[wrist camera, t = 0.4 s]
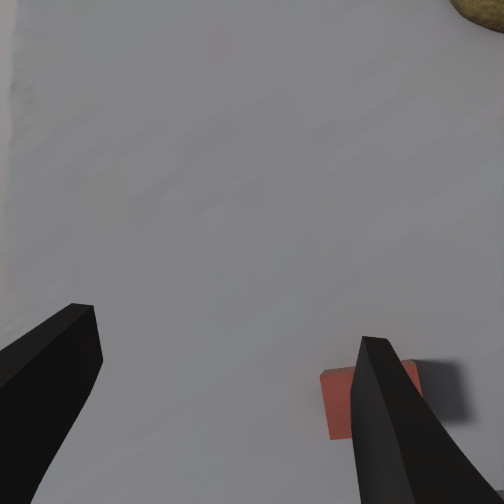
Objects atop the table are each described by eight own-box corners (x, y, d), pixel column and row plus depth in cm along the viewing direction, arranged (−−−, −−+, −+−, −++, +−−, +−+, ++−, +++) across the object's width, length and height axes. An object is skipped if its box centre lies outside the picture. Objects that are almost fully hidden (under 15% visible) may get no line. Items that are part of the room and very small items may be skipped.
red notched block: (423, 418, 35) (429, 431, 31) (334, 427, 37) (330, 439, 33) (411, 359, 36) (416, 364, 32) (324, 370, 37) (319, 375, 34)
